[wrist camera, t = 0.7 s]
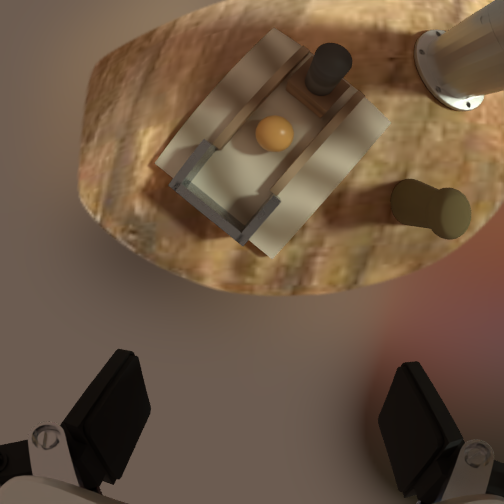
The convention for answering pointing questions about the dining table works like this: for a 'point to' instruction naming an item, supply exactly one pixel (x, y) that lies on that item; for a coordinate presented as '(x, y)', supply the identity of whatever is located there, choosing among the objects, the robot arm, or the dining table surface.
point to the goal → (209, 206)
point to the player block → (321, 78)
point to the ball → (274, 133)
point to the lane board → (265, 162)
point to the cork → (431, 208)
